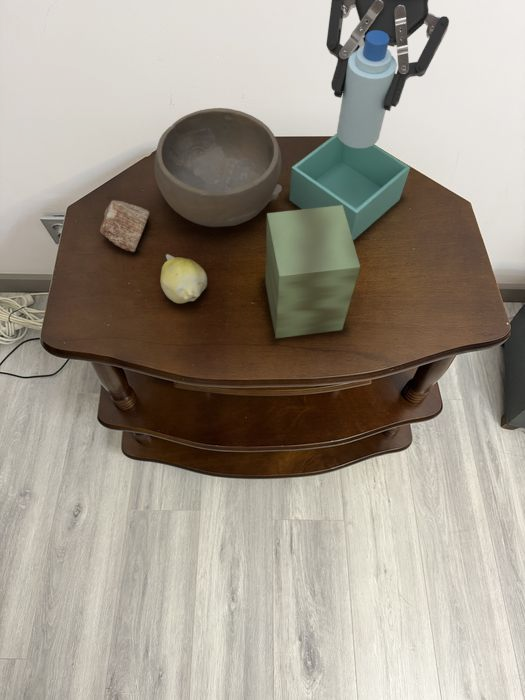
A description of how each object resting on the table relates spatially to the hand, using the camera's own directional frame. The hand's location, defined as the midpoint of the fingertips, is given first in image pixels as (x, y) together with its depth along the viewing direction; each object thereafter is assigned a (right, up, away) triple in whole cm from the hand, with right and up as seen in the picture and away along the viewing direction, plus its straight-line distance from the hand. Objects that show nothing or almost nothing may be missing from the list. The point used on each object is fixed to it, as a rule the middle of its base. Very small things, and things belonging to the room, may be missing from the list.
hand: (362, 102), depth 64 cm
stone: (-32, -13, +14) cm, 37 cm away
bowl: (-18, -7, +17) cm, 26 cm away
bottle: (+1, -1, +6) cm, 6 cm away
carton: (0, -7, +17) cm, 18 cm away
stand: (-7, -24, +8) cm, 26 cm away
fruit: (-23, -21, +10) cm, 33 cm away
